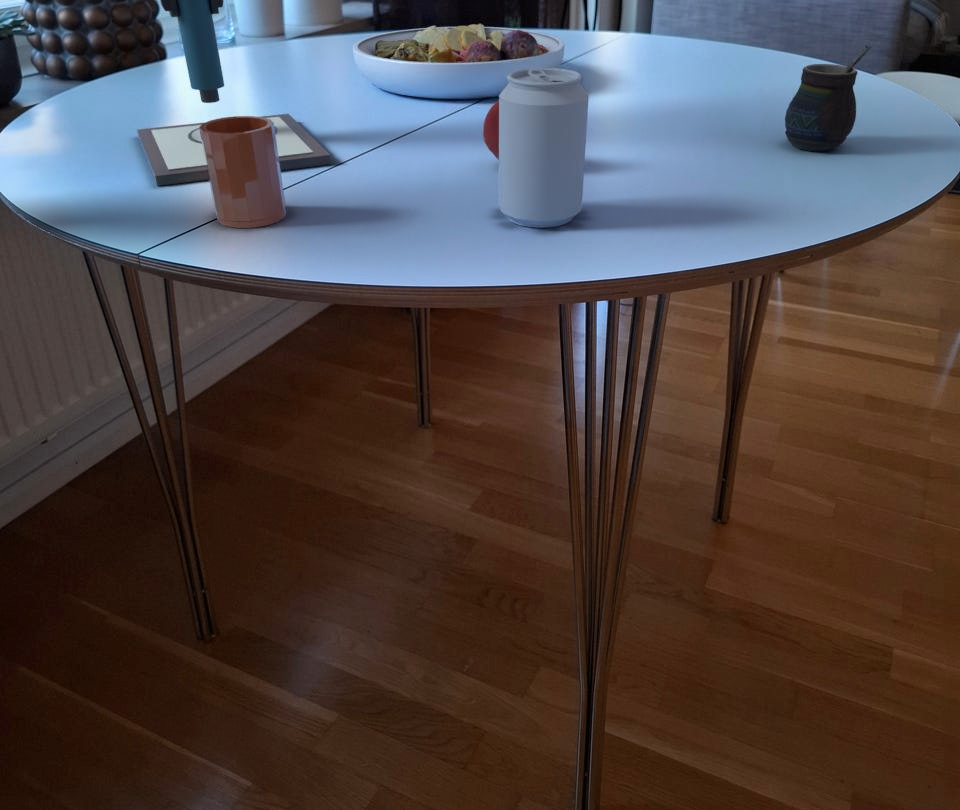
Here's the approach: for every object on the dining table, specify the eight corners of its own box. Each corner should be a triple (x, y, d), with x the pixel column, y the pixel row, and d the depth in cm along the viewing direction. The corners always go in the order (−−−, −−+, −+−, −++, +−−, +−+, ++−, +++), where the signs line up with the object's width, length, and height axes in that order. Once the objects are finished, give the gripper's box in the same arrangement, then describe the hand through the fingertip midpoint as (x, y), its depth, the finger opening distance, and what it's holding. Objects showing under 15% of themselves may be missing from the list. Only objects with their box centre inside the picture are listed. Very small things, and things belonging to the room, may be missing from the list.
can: (530, 237, 74) (535, 86, 67) (482, 213, 79) (481, 70, 72) (598, 220, 77) (609, 74, 70) (547, 198, 82) (553, 60, 75)
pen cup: (223, 232, 75) (205, 137, 71) (212, 210, 80) (194, 120, 75) (293, 222, 77) (279, 129, 73) (278, 201, 82) (265, 113, 77)
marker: (196, 106, 95) (168, -37, 87) (192, 99, 97) (164, -40, 89) (229, 102, 96) (205, -39, 88) (224, 96, 99) (199, -42, 90)
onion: (549, 167, 90) (552, 84, 86) (511, 179, 87) (512, 94, 82) (510, 156, 94) (511, 76, 89) (472, 167, 90) (470, 85, 86)
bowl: (314, 82, 125) (307, 21, 120) (461, 54, 142) (460, -1, 138) (456, 116, 108) (455, 47, 103) (605, 79, 125) (609, 18, 120)
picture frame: (157, 186, 86) (154, 173, 86) (138, 138, 101) (136, 127, 100) (331, 164, 92) (330, 152, 91) (289, 122, 107) (288, 111, 106)
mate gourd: (766, 141, 97) (783, 44, 91) (820, 135, 99) (841, 39, 94) (807, 158, 92) (828, 55, 86) (864, 150, 94) (889, 50, 88)
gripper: (225, -189, 86) (253, 5, 96) (75, -189, 82) (121, 14, 92) (238, -192, 81) (267, 14, 91) (78, -193, 76) (127, 25, 87)
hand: (194, 13), depth 91 cm, fingers closed on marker, 3 cm apart
